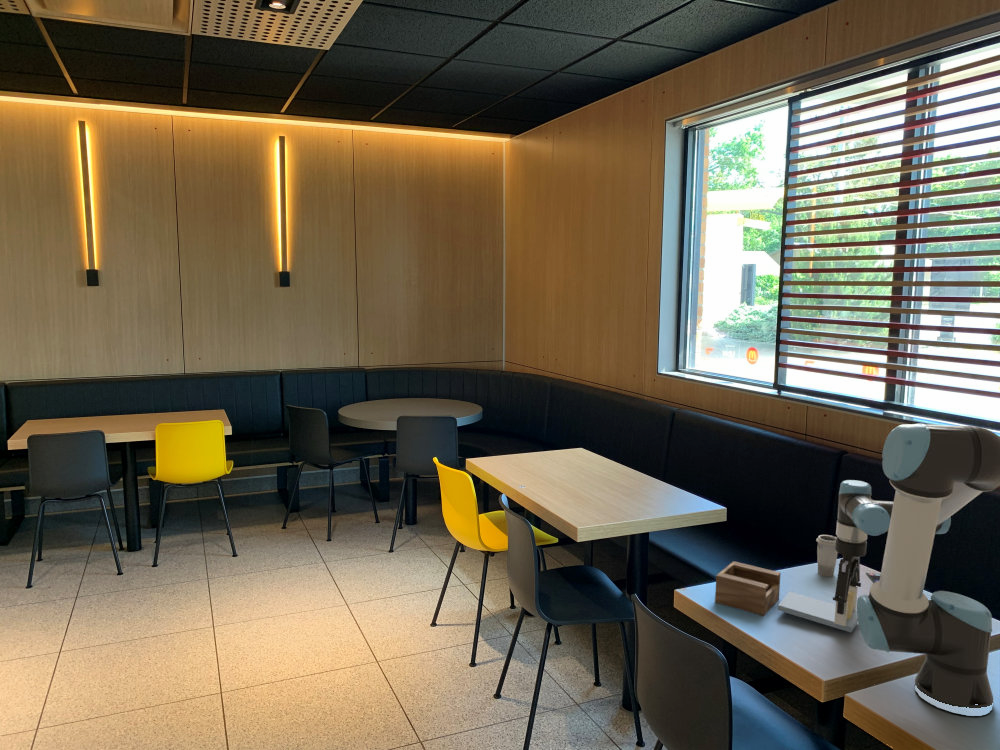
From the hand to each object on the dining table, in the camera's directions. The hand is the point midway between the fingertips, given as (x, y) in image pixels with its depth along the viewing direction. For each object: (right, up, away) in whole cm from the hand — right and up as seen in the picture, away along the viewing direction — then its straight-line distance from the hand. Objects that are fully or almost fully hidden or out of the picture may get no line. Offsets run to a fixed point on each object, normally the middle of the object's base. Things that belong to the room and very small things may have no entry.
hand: (845, 616), depth 201 cm
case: (-21, -1, +16) cm, 27 cm away
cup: (+11, +1, +37) cm, 39 cm away
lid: (-5, -1, +4) cm, 7 cm away
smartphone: (+27, 0, +30) cm, 40 cm away
